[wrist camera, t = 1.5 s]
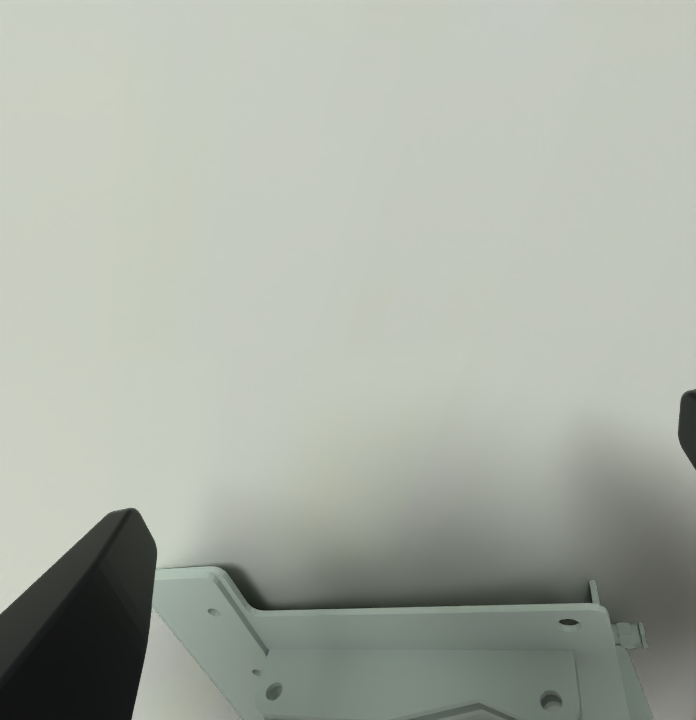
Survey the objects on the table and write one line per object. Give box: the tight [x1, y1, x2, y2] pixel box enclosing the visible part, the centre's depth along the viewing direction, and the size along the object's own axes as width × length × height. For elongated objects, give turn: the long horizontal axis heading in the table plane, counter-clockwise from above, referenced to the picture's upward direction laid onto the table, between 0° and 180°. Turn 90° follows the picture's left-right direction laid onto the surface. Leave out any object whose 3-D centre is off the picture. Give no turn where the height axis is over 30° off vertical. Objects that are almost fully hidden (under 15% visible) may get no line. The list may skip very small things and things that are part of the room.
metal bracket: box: [152, 566, 654, 720], centre depth 18 cm, size 14×6×15 cm
